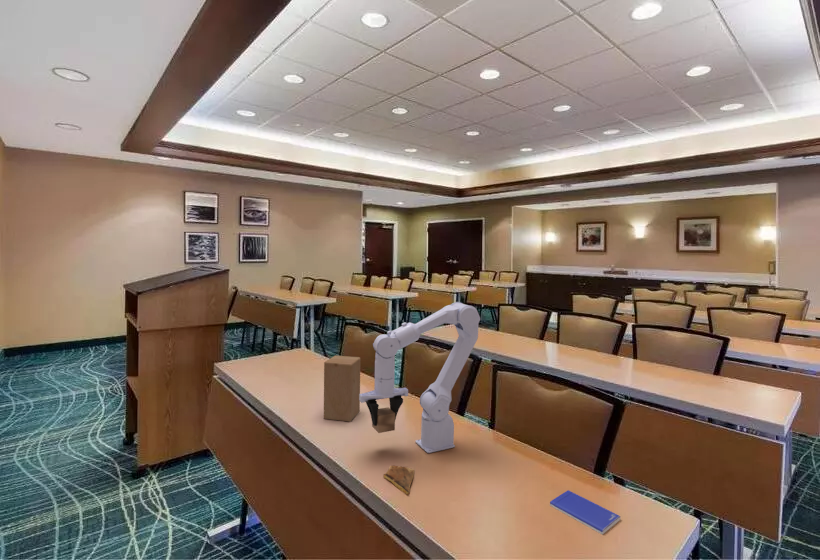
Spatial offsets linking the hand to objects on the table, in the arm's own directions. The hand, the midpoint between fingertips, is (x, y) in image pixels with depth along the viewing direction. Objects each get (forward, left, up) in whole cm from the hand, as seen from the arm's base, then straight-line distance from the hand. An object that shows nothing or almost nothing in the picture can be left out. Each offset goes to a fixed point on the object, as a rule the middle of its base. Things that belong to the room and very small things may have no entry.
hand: (383, 422), depth 119 cm
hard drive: (-30, +45, -9) cm, 55 cm away
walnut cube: (0, 0, -2) cm, 2 cm away
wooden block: (+3, -30, -9) cm, 31 cm away
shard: (+1, +16, -9) cm, 19 cm away
